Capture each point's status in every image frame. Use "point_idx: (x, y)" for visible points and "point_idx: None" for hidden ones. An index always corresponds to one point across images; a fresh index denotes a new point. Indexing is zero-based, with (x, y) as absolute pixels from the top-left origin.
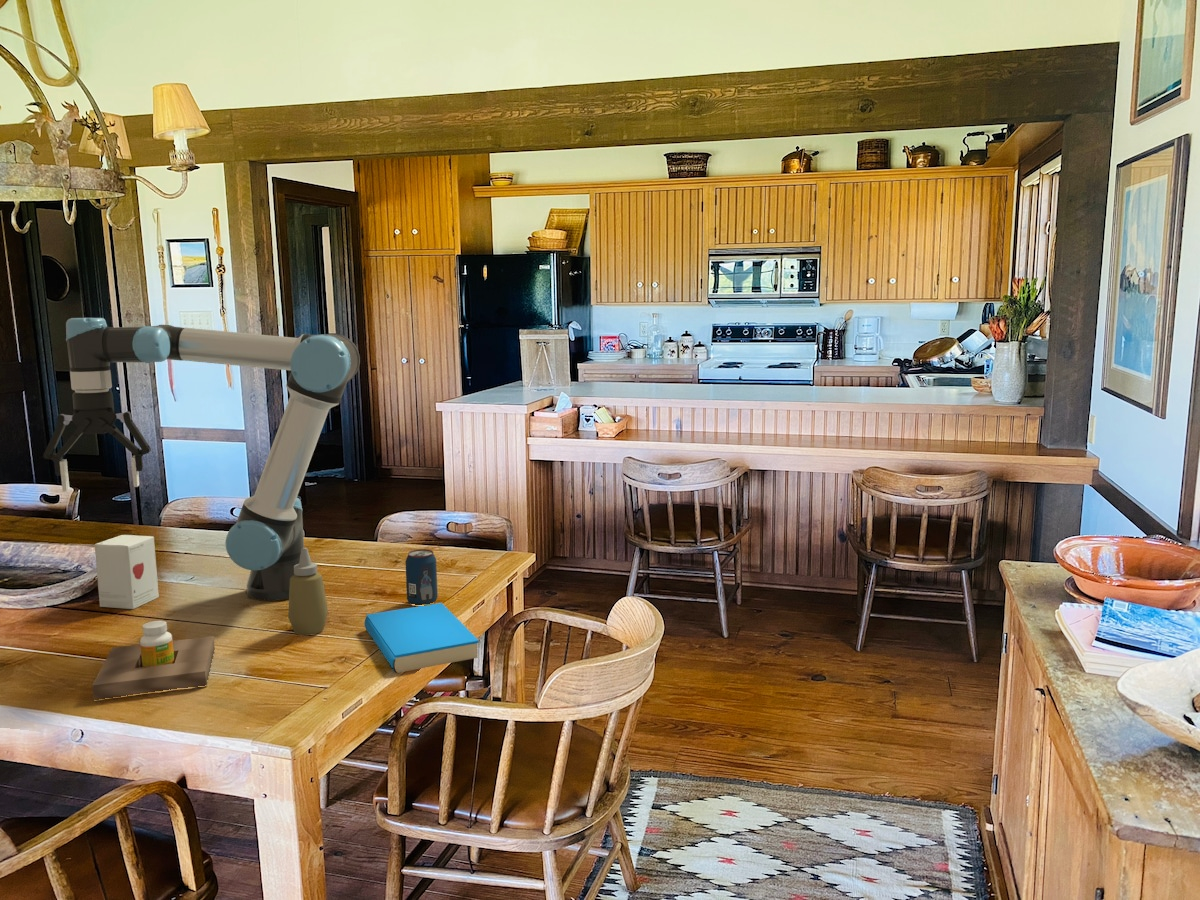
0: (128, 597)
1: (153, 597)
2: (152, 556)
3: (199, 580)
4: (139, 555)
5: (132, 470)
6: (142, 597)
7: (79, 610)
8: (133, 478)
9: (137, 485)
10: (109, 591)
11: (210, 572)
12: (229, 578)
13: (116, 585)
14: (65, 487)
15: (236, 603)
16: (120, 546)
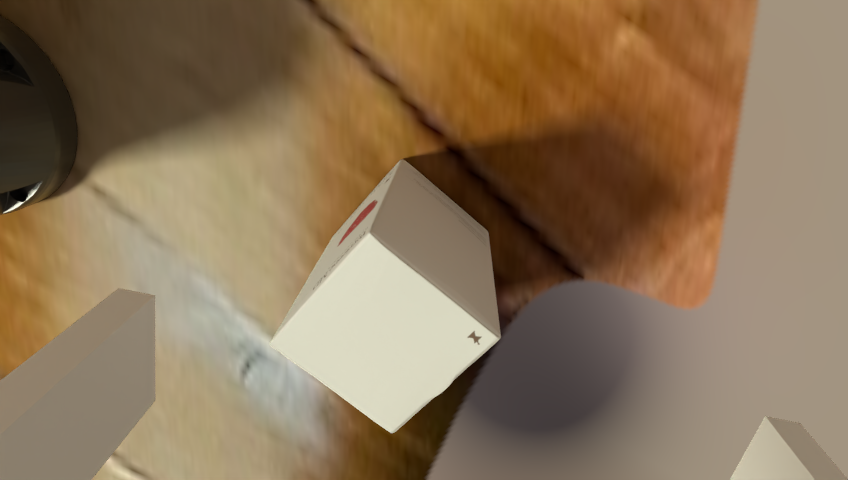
0: (408, 175)
1: (344, 223)
2: (303, 289)
3: (226, 337)
4: (340, 249)
5: (9, 418)
6: (370, 194)
7: (542, 232)
8: (87, 345)
9: (110, 304)
10: (460, 223)
11: (201, 391)
12: None
13: (438, 211)
14: (797, 446)
15: (103, 51)
16: (400, 255)
